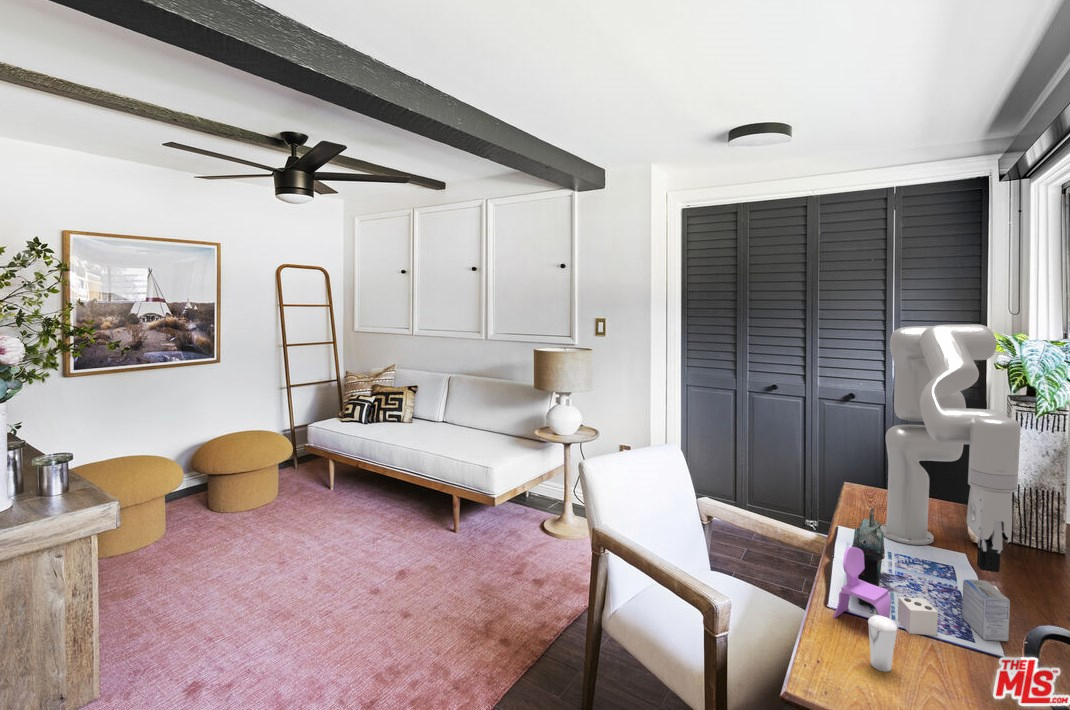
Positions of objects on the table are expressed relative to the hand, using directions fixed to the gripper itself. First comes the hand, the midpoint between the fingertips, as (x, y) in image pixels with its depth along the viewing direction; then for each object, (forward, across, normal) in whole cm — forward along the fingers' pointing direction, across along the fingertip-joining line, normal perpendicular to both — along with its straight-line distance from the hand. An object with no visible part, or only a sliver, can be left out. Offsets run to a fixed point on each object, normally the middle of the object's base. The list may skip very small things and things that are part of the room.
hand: (987, 569), depth 111 cm
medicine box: (+13, 0, 0) cm, 13 cm away
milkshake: (+13, +21, -20) cm, 32 cm away
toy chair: (+13, +6, -22) cm, 26 cm away
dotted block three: (+13, +4, -12) cm, 18 cm away
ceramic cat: (+13, -10, -20) cm, 25 cm away
